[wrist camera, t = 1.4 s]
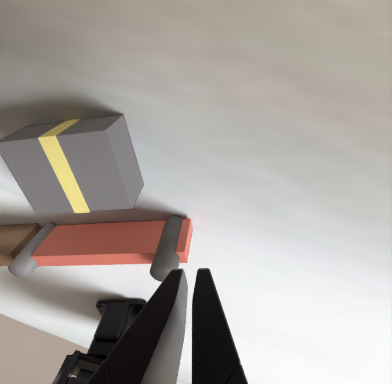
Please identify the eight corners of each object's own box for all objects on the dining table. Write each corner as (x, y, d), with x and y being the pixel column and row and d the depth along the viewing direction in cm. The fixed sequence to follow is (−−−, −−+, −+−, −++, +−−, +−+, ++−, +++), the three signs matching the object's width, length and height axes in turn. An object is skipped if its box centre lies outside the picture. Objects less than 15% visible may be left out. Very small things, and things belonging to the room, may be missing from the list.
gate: (49, 238, 26) (11, 283, 21) (40, 223, 25) (-2, 267, 20) (193, 232, 24) (185, 282, 19) (189, 215, 23) (180, 263, 18)
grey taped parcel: (144, 184, 22) (131, 209, 19) (60, 190, 23) (35, 215, 20) (123, 113, 19) (104, 130, 16) (27, 125, 20) (-8, 142, 17)
